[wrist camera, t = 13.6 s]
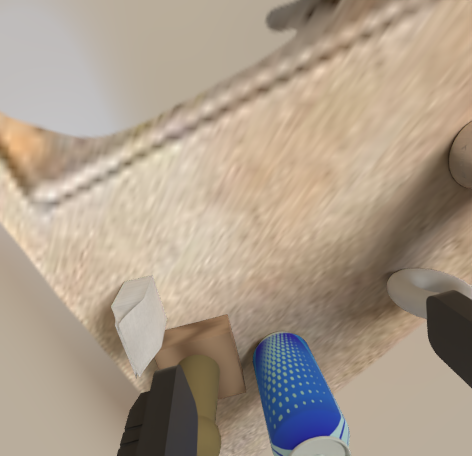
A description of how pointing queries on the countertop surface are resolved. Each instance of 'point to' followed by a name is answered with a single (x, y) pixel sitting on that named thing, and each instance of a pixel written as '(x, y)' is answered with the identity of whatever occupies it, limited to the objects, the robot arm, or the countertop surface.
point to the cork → (204, 400)
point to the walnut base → (206, 351)
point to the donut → (422, 288)
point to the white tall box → (140, 321)
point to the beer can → (297, 400)
